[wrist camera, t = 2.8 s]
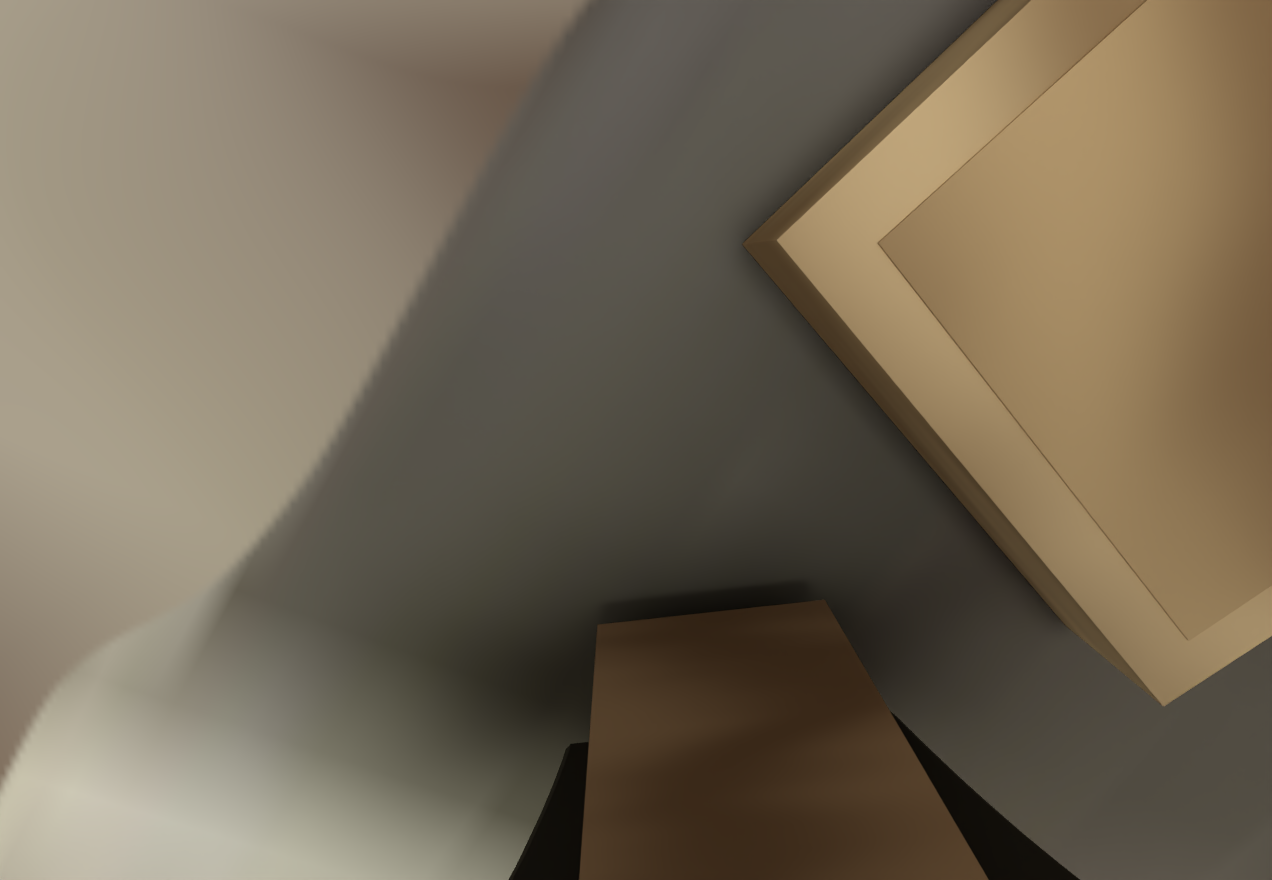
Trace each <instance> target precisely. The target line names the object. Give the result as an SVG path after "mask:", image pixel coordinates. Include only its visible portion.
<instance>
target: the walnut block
mask: <svg viewBox="0 0 1272 880" xmlns="http://www.w3.org/2000/svg"><path fill="white" fill-rule="evenodd" d="M579 880H988V878H987V876H986V875H985V873H984V871H983V869H982V868H981V866H980V864H979V863H978V861H977V859H976V857H975V856H974V854H973V852H972V851H971V849H970V847H969V845H968V844H967V842H966V840H965V839H964V837H963V835H962V834H961V832H960V830H959V828H958V827H957V825H956V823H955V822H954V820H953V818H952V816H951V815H950V813H949V811H948V810H947V808H946V806H945V804H944V803H943V801H942V799H941V798H940V796H939V794H938V793H937V791H936V789H935V787H934V786H933V784H932V782H931V781H930V779H929V777H928V775H927V774H926V772H925V770H924V769H923V767H922V765H921V764H920V762H919V760H918V758H917V757H916V755H915V753H914V752H913V750H912V748H911V746H910V745H909V743H908V741H907V740H906V738H905V736H904V734H903V733H902V731H901V729H900V728H899V726H898V724H897V723H896V721H895V719H894V717H893V716H892V714H891V712H890V711H889V709H888V707H887V705H886V704H885V702H884V700H883V699H882V697H881V695H880V693H879V692H878V690H877V688H876V687H875V685H874V683H873V682H872V680H871V678H870V676H869V675H868V673H867V671H866V670H865V668H864V666H863V664H862V663H861V661H860V659H859V658H858V656H857V654H856V652H855V651H854V649H853V647H852V646H851V644H850V642H849V641H848V639H847V637H846V635H845V634H844V632H843V630H842V629H841V627H840V625H839V623H838V622H837V620H836V618H835V617H834V615H833V613H832V612H831V610H830V608H829V606H828V605H827V603H826V601H825V600H817V601H808V602H799V603H790V604H781V605H772V606H763V607H754V608H744V609H735V610H726V611H717V612H708V613H699V614H690V615H681V616H672V617H663V618H654V619H644V620H635V621H626V622H617V623H608V624H599V625H597V639H596V653H595V666H594V680H593V694H592V708H591V722H590V736H589V750H588V763H587V777H586V791H585V805H584V819H583V833H582V847H581V861H580V874H579Z"/></svg>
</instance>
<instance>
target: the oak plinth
mask: <svg viewBox="0 0 1272 880" xmlns="http://www.w3.org/2000/svg"><path fill="white" fill-rule="evenodd" d="M742 245H743V246H744V247H745V248H746V249H747V251H748V252H749V253H750V254H751V255H752V256H753V258H754V259H755V260H756V261H757V262H758V264H759V265H760V266H761V267H762V268H763V269H764V271H765V272H766V273H767V274H768V275H769V277H770V278H771V279H772V280H773V281H774V282H775V284H776V285H777V286H778V287H779V288H780V289H781V291H782V292H783V293H784V294H785V295H786V297H787V298H788V299H789V300H790V301H791V302H792V304H793V305H794V306H795V307H796V308H797V310H798V311H799V312H800V313H801V314H802V315H803V317H804V318H805V319H806V320H807V321H808V323H809V324H810V325H811V326H812V327H813V328H814V330H815V331H816V332H817V333H818V334H819V335H820V337H821V338H822V339H823V340H824V341H825V343H826V344H827V345H828V346H829V347H830V348H831V350H832V351H833V352H834V353H835V354H836V356H837V357H838V358H839V359H840V360H841V361H842V363H843V364H844V365H845V366H846V367H847V369H848V370H849V371H850V372H851V373H852V374H853V376H854V377H855V378H856V379H857V380H858V381H859V383H860V384H861V385H862V386H863V387H864V389H865V390H866V391H867V392H868V393H869V394H870V396H871V397H872V398H873V399H874V400H875V402H876V403H877V404H878V405H879V406H880V407H881V409H882V410H883V411H884V412H885V413H886V415H887V416H888V417H889V418H890V419H891V420H892V422H893V423H894V424H895V425H896V426H897V427H898V429H899V430H900V431H901V432H902V433H903V435H904V436H905V437H906V438H907V439H908V440H909V442H910V443H911V444H912V445H913V446H914V448H915V449H916V450H917V451H918V452H919V453H920V455H921V456H922V457H923V458H924V459H925V460H926V462H927V463H928V464H929V465H930V466H931V468H932V469H933V470H934V471H935V472H936V473H937V475H938V476H939V477H940V478H941V479H942V481H943V482H944V483H945V484H946V485H947V486H948V488H949V489H950V490H951V491H952V492H953V494H954V495H955V496H956V497H957V498H958V499H959V501H960V502H961V503H962V504H963V505H964V506H965V508H966V509H967V510H968V511H969V512H970V514H971V515H972V516H973V517H974V518H975V519H976V521H977V522H978V523H979V524H980V525H981V527H982V528H983V529H984V530H985V531H986V532H987V534H988V535H989V536H990V537H991V538H992V540H993V541H994V542H995V543H996V544H997V545H998V547H999V548H1000V549H1001V550H1002V551H1003V552H1004V554H1005V555H1006V556H1007V557H1008V558H1009V560H1010V561H1011V562H1012V563H1013V564H1014V565H1015V567H1016V568H1017V569H1018V570H1019V571H1020V573H1021V574H1022V575H1023V576H1024V577H1025V578H1026V580H1027V581H1028V582H1029V583H1030V584H1031V586H1032V587H1033V588H1034V589H1035V590H1036V591H1037V593H1038V594H1039V595H1040V596H1041V597H1042V598H1043V600H1044V601H1045V602H1046V603H1047V604H1048V606H1049V607H1050V608H1051V609H1052V610H1053V611H1054V613H1055V614H1056V615H1057V616H1058V617H1059V619H1060V620H1061V621H1062V622H1063V623H1064V624H1065V625H1066V626H1067V627H1068V628H1069V629H1070V630H1072V631H1073V632H1074V633H1075V634H1076V635H1078V636H1079V637H1080V638H1081V639H1082V640H1084V641H1085V642H1086V643H1087V644H1088V645H1090V646H1091V647H1092V648H1093V649H1094V650H1096V651H1097V652H1098V653H1099V654H1101V655H1102V656H1103V657H1104V658H1105V659H1107V660H1108V661H1109V662H1110V663H1111V664H1113V665H1114V666H1115V667H1116V668H1117V669H1119V670H1120V671H1121V672H1122V673H1123V674H1125V675H1126V676H1127V677H1128V678H1129V679H1131V680H1132V681H1133V682H1134V683H1136V684H1137V685H1138V686H1139V687H1140V688H1142V689H1143V690H1144V691H1145V692H1146V693H1148V694H1149V695H1150V696H1151V697H1152V698H1154V699H1155V700H1156V701H1157V702H1158V703H1160V704H1161V705H1162V706H1165V705H1167V704H1168V703H1170V702H1171V701H1173V700H1174V699H1176V698H1177V697H1179V696H1180V695H1182V694H1183V693H1185V692H1186V691H1188V690H1189V689H1191V688H1193V687H1194V686H1196V685H1197V684H1199V683H1200V682H1202V681H1203V680H1205V679H1206V678H1208V677H1209V676H1211V675H1212V674H1214V673H1216V672H1217V671H1219V670H1220V669H1222V668H1223V667H1225V666H1226V665H1228V664H1229V663H1231V662H1232V661H1234V660H1235V659H1237V658H1238V657H1240V656H1242V655H1243V654H1245V653H1246V652H1248V651H1249V650H1251V649H1252V648H1254V647H1255V646H1257V645H1258V644H1260V643H1261V642H1263V641H1265V640H1266V639H1268V638H1269V637H1271V636H1272V0H997V1H996V2H995V3H994V4H993V5H992V6H991V7H990V8H989V9H988V10H987V11H986V12H985V13H984V14H983V15H982V16H981V17H980V18H979V19H977V20H976V21H975V22H974V23H973V24H972V25H971V26H970V27H969V28H968V29H967V30H966V31H965V32H964V33H963V34H962V35H961V36H960V37H959V38H958V39H956V40H955V41H954V42H953V43H952V44H951V45H950V46H949V47H948V48H947V49H946V50H945V51H944V52H943V53H942V54H941V55H940V56H939V57H938V58H937V59H936V60H934V61H933V62H932V63H931V64H930V65H929V66H928V67H927V68H926V69H925V70H924V71H923V72H922V73H921V74H920V75H919V76H918V77H917V78H916V79H915V80H914V81H912V82H911V83H910V84H909V85H908V86H907V87H906V88H905V89H904V90H903V91H902V92H901V93H900V94H899V95H898V96H897V97H896V98H895V99H894V100H893V101H892V102H890V103H889V104H888V105H887V106H886V107H885V108H884V109H883V110H882V111H881V112H880V113H879V114H878V115H877V116H876V117H875V118H874V119H873V120H872V121H871V122H870V123H868V124H867V125H866V126H865V127H864V128H863V129H862V130H861V131H860V132H859V133H858V134H857V135H856V136H855V137H854V138H853V139H852V140H851V141H850V142H849V143H847V144H846V145H845V146H844V147H843V148H842V149H841V150H840V151H839V152H838V153H837V154H836V155H835V156H834V157H833V158H832V159H831V160H830V161H829V162H828V163H827V164H825V165H824V166H823V167H822V168H821V169H820V170H819V171H818V172H817V173H816V174H815V175H814V176H813V177H812V178H811V179H810V180H809V181H808V182H807V183H806V184H805V185H803V186H802V187H801V188H800V189H799V190H798V191H797V192H796V193H795V194H794V195H793V196H792V197H791V198H790V199H789V200H788V201H787V202H786V203H785V204H784V205H783V206H781V207H780V208H779V209H778V210H777V211H776V212H775V213H774V214H773V215H772V216H771V217H770V218H769V219H768V220H767V221H766V222H765V223H764V224H763V225H762V226H761V227H759V228H758V229H757V230H756V231H755V232H754V233H753V234H752V235H751V236H750V237H749V238H748V239H747V240H746V241H745V242H744V243H743V244H742Z"/></svg>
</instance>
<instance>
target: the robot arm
mask: <svg viewBox="0 0 1272 880" xmlns="http://www.w3.org/2000/svg"><path fill="white" fill-rule="evenodd" d="M890 712H891V711H890ZM891 714H892V716H893V717H894V719H895V721H896V723H897V724H898V726H899V728H900V729H901V731H902V733H903V734H904V736H905V738H906V740H907V741H908V743H909V745H910V746H911V748H912V750H913V752H914V753H915V755H916V757H917V758H918V760H919V762H920V764H921V765H922V767H923V769H924V770H925V772H926V774H927V775H928V777H929V779H930V781H931V782H932V784H933V786H934V787H935V789H936V791H937V793H938V794H939V796H940V798H941V799H942V801H943V803H944V804H945V806H946V808H947V810H948V811H949V813H950V815H951V816H952V818H953V820H954V822H955V823H956V825H957V827H958V828H959V830H960V832H961V834H962V835H963V837H964V839H965V840H966V842H967V844H968V845H969V847H970V849H971V851H972V852H973V854H974V856H975V857H976V859H977V861H978V863H979V864H980V866H981V868H982V869H983V871H984V873H985V875H986V876H987V878H988V880H1080V879H1078V878H1077V877H1076V876H1074V875H1073V874H1072V873H1071V872H1069V871H1068V870H1067V869H1066V868H1064V867H1063V866H1062V865H1061V864H1059V863H1058V862H1057V861H1056V860H1054V859H1053V858H1052V857H1051V856H1050V855H1048V854H1047V853H1046V852H1045V851H1043V850H1042V849H1041V848H1040V847H1039V846H1037V845H1036V844H1035V843H1034V842H1033V841H1031V840H1030V839H1029V838H1028V837H1026V836H1025V835H1024V834H1023V833H1022V832H1021V831H1019V830H1018V829H1017V828H1016V827H1015V826H1014V825H1012V824H1011V823H1010V822H1009V821H1008V820H1007V819H1005V818H1004V817H1003V816H1002V815H1001V814H1000V813H999V812H998V811H996V810H995V809H994V808H993V807H992V806H991V805H990V804H989V803H987V802H986V801H985V800H984V799H983V798H982V797H981V796H980V795H978V794H977V793H976V792H975V791H974V790H973V789H972V788H971V787H970V786H968V785H967V784H966V783H965V782H964V781H963V780H962V779H961V778H960V777H959V776H958V775H957V774H955V773H954V772H953V771H952V770H951V769H950V768H949V767H948V766H947V765H946V764H945V763H944V762H943V761H942V760H941V759H940V758H939V757H937V756H936V755H935V754H934V753H933V752H932V751H931V750H930V749H929V748H928V747H927V746H926V745H925V744H924V743H923V742H922V741H921V740H920V739H919V738H918V737H917V736H916V735H915V734H914V733H913V732H912V731H911V730H910V729H909V728H908V727H907V726H906V725H905V724H904V723H902V722H901V721H900V720H899V719H898V718H897V717H896V716H895V715H894V714H893V713H892V712H891ZM588 750H589V742H585V743H575V744H571V745H570V746H569V747H568V748H567V749H566V751H565V754H564V757H563V760H562V763H561V765H560V768H559V771H558V773H557V776H556V779H555V781H554V784H553V786H552V789H551V791H550V794H549V796H548V798H547V801H546V803H545V805H544V808H543V810H542V812H541V814H540V817H539V819H538V821H537V823H536V825H535V827H534V829H533V832H532V834H531V836H530V838H529V840H528V842H527V844H526V846H525V849H524V851H523V853H522V855H521V857H520V859H519V861H518V863H517V865H516V867H515V869H514V871H513V873H512V874H511V876H510V878H509V880H579V874H580V861H581V847H582V833H583V819H584V805H585V791H586V777H587V763H588Z"/></svg>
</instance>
